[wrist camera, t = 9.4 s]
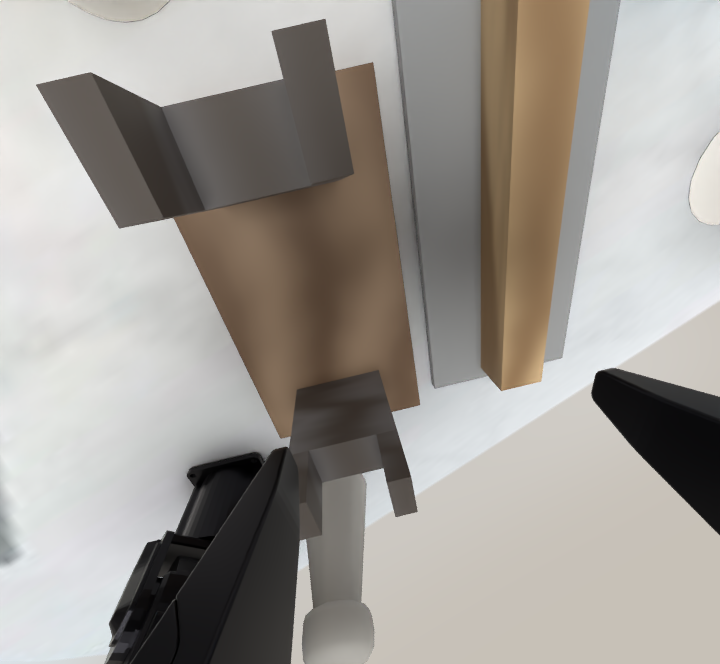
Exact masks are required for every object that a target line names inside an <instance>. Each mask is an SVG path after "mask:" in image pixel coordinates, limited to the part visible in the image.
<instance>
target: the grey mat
mask: <svg viewBox="0 0 720 664" xmlns="http://www.w3.org/2000/svg"><path fill="white" fill-rule="evenodd" d="M392 3H393V12H394V22H395V32H396V41H397V51H398V60H399V70H400V79H401V89H402V98H403V108H404V118H405V127H406V137H407V146H408V156H409V165H410V175H411V184H412V194H413V203H414V213H415V223H416V232H417V242H418V251H419V261H420V270H421V280H422V289H423V299H424V309H425V318H426V328H427V337H428V347H429V356H430V366H431V375H432V384H433V386H434V388H435V389H436V388H440V387H444V386H448V385H452V384H457V383H461V382H465V381H469V380H473V379H477V378H481V377H486V376H488V375H487V374H486V373H485V372H484V371H483V370H482V368H481V0H392ZM619 6H620V0H590V4H589V12H588V19H587V27H586V35H585V43H584V51H583V58H582V66H581V74H580V82H579V90H578V97H577V105H576V113H575V121H574V129H573V137H572V144H571V152H570V160H569V168H568V176H567V183H566V191H565V199H564V207H563V215H562V223H561V230H560V238H559V246H558V254H557V262H556V269H555V277H554V285H553V293H552V301H551V308H550V316H549V324H548V332H547V340H546V348H545V355H544V362H548V361H552V360H556V359H560V358H562V356H563V350H564V344H565V338H566V331H567V325H568V319H569V313H570V307H571V301H572V295H573V288H574V282H575V276H576V270H577V264H578V258H579V252H580V245H581V239H582V233H583V227H584V221H585V215H586V209H587V202H588V196H589V190H590V184H591V178H592V172H593V166H594V159H595V153H596V147H597V141H598V135H599V129H600V123H601V117H602V110H603V104H604V98H605V92H606V86H607V80H608V74H609V67H610V61H611V55H612V49H613V43H614V37H615V31H616V24H617V18H618V12H619Z"/></svg>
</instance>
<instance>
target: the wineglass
mask: <svg viewBox="0 0 720 664" xmlns="http://www.w3.org/2000/svg"><path fill="white" fill-rule="evenodd" d="M689 202H690V207H691V212H692V213H693V215H694V216H695V217H696V218H697V219H698V220H699V222H703V223H706V224H709V225H718V224H720V132H719V133H718V134H717V135H716V136H715V137H714V138H713V140H712V141H711V143H710V144H709V146H708V148H707V149H706V151H705V152H704V154H703V155H702V157H701V158H700V160H699V163H698V165H697V168H696V170H695V173H694V175H693V178H692V180H691V186H690V193H689Z"/></svg>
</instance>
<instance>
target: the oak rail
mask: <svg viewBox="0 0 720 664" xmlns="http://www.w3.org/2000/svg"><path fill="white" fill-rule="evenodd" d="M589 4H590V0H481V368H482V370H483V371H484V372H485V373H486V374H487V375H488V376H489V378H490V379H491V380H492V381H493V382H494V383H495V384H496V386H497V387H498V388H499V389H500V390H501V391H503V390H507V389H511V388H516V387H520V386H524V385H528V384H532V383H536V382H541V379H542V371H543V363H544V355H545V348H546V340H547V332H548V324H549V316H550V308H551V301H552V293H553V285H554V277H555V269H556V262H557V254H558V246H559V238H560V230H561V223H562V215H563V207H564V199H565V191H566V183H567V176H568V168H569V160H570V152H571V144H572V137H573V129H574V121H575V113H576V105H577V97H578V90H579V82H580V74H581V66H582V58H583V51H584V43H585V35H586V27H587V19H588V12H589Z"/></svg>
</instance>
